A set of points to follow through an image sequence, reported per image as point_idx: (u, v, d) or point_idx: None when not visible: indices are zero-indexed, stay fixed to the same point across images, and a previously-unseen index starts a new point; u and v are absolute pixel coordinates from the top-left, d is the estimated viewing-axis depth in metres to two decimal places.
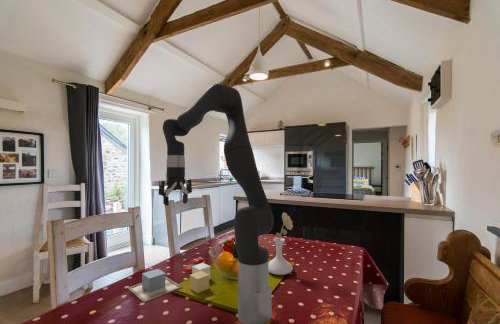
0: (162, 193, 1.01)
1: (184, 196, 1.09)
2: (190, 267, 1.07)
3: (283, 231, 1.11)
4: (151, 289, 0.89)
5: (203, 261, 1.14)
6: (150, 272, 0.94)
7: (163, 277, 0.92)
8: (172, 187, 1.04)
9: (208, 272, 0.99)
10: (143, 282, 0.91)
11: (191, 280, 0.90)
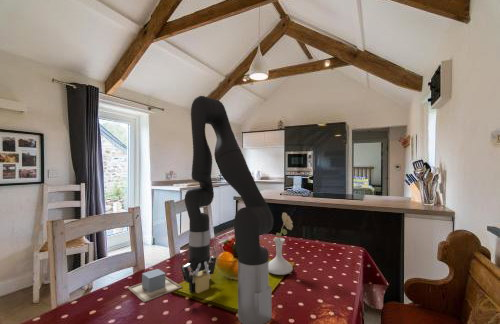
0: (188, 280, 0.87)
1: None
2: (190, 267, 1.07)
3: (283, 231, 1.11)
4: (151, 289, 0.89)
5: None
6: (150, 272, 0.94)
7: (163, 277, 0.92)
8: (197, 270, 0.89)
9: None
10: (143, 282, 0.91)
11: None
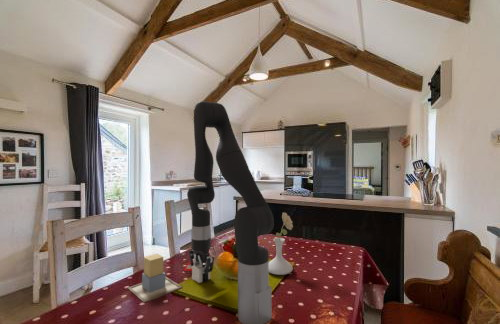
0: (191, 263, 1.02)
1: None
2: (191, 267, 1.06)
3: (283, 231, 1.11)
4: (151, 289, 0.89)
5: None
6: None
7: (163, 277, 0.92)
8: (194, 259, 0.99)
9: None
10: (143, 282, 0.91)
11: (145, 262, 0.92)
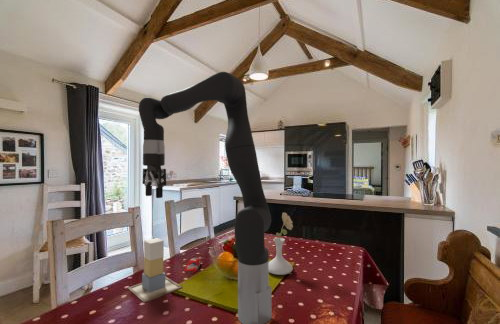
0: (143, 181, 0.97)
1: None
2: (191, 267, 1.06)
3: (283, 231, 1.11)
4: (151, 289, 0.89)
5: (199, 260, 1.14)
6: None
7: (163, 277, 0.92)
8: (146, 176, 0.93)
9: (161, 247, 0.92)
10: (143, 282, 0.91)
11: (145, 262, 0.92)
